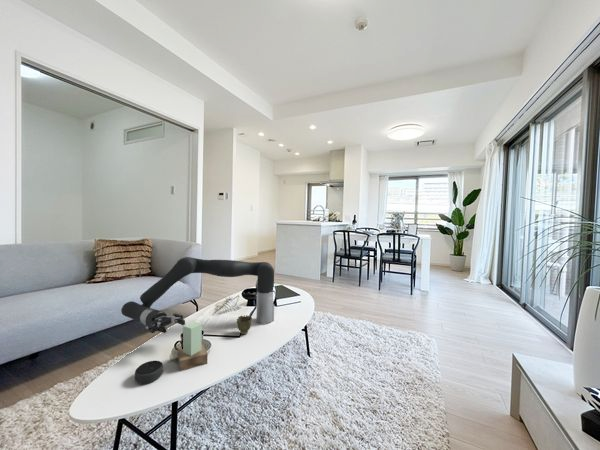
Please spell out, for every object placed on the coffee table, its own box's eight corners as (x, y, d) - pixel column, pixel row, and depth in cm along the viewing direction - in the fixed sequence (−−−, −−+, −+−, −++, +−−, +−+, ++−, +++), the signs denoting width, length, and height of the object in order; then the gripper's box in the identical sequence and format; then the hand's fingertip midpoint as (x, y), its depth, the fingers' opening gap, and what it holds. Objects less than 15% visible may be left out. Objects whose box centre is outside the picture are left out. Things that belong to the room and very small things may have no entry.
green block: (193, 346, 103) (193, 321, 103) (201, 349, 101) (201, 323, 100) (182, 352, 99) (183, 325, 98) (191, 355, 97) (191, 328, 96)
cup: (247, 337, 119) (248, 322, 119) (234, 336, 121) (234, 320, 121) (253, 330, 127) (254, 315, 126) (240, 329, 128) (240, 314, 128)
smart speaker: (143, 389, 84) (143, 377, 83) (129, 379, 88) (129, 369, 88) (168, 374, 91) (168, 364, 91) (154, 366, 96) (154, 357, 96)
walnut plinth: (202, 351, 107) (203, 342, 107) (207, 363, 98) (207, 353, 98) (177, 357, 102) (177, 348, 102) (179, 371, 93) (180, 361, 93)
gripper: (136, 315, 106) (159, 324, 98) (168, 305, 119) (189, 312, 111) (136, 332, 106) (159, 342, 99) (167, 320, 119) (189, 328, 111)
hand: (175, 326), depth 105 cm, fingers open, 8 cm apart
